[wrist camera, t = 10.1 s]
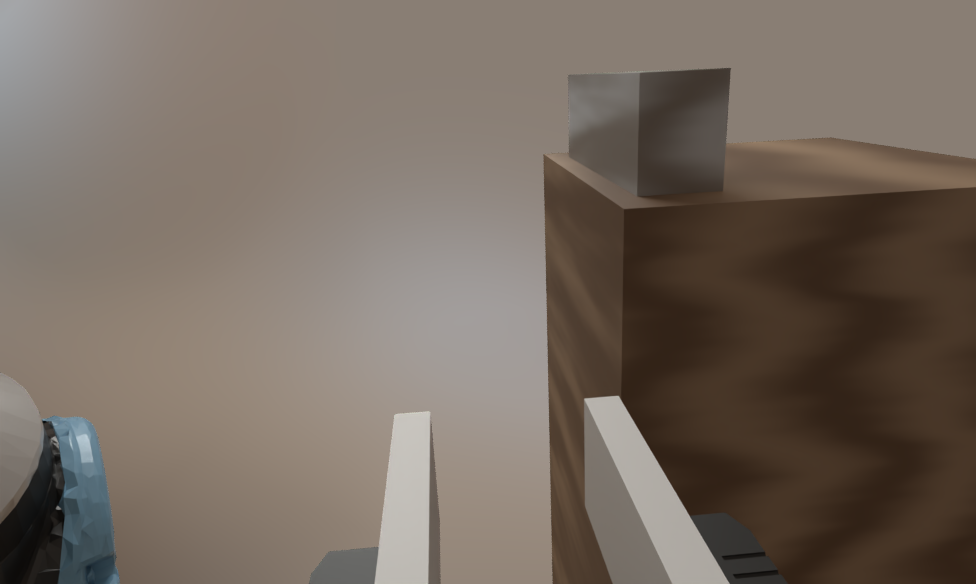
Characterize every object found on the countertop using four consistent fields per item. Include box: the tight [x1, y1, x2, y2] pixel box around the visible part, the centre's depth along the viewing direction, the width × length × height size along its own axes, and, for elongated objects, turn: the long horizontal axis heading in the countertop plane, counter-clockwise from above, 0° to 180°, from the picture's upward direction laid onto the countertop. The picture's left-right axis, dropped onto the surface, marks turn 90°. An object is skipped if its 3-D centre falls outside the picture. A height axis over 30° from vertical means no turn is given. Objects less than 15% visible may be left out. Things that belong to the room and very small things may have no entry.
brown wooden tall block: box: [544, 68, 976, 584], centre depth 33 cm, size 16×16×34 cm
